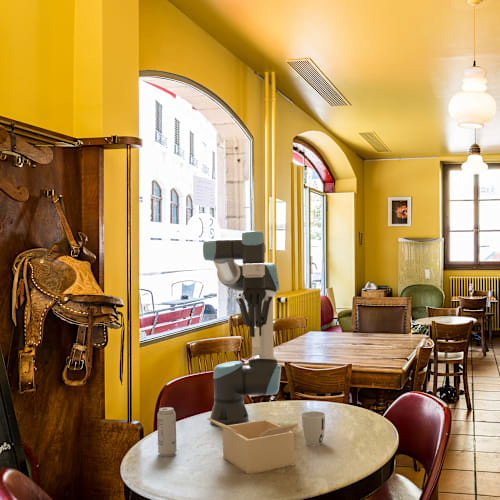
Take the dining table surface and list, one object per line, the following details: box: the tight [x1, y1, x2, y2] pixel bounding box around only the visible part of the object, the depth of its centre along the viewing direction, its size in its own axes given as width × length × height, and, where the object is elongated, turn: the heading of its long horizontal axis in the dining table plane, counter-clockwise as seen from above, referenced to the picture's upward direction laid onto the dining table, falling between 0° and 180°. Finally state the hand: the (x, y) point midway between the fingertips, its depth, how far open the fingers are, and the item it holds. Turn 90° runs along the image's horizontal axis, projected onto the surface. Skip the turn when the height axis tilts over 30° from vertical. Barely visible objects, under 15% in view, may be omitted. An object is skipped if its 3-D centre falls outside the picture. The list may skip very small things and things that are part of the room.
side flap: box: [207, 417, 239, 434], centre depth 186 cm, size 7×10×1 cm
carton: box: [221, 419, 295, 475], centre depth 190 cm, size 19×17×10 cm
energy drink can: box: [156, 406, 177, 458], centre depth 198 cm, size 6×6×15 cm
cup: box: [301, 410, 326, 446], centre depth 206 cm, size 8×8×10 cm
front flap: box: [259, 423, 299, 437], centre depth 179 cm, size 7×10×1 cm
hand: (255, 346), depth 202 cm, fingers closed
